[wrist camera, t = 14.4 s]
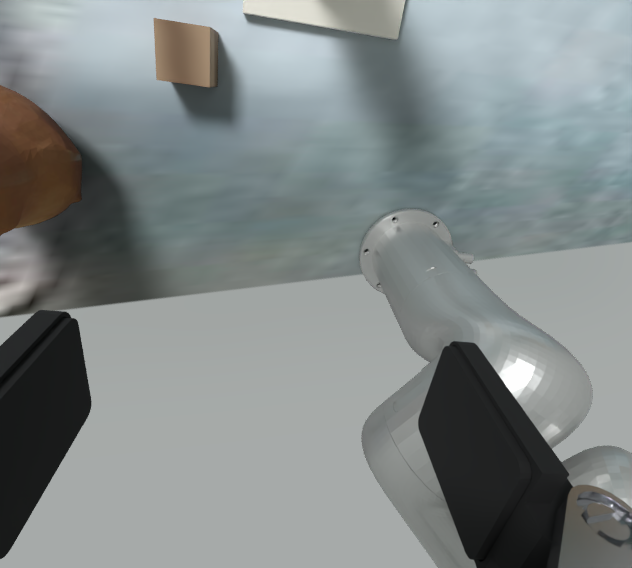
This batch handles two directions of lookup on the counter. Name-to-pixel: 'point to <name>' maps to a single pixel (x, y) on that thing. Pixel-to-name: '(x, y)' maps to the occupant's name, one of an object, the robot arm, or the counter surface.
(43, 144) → the butternut squash
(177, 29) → the walnut block
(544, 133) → the counter surface
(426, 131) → the counter surface
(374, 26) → the placemat
